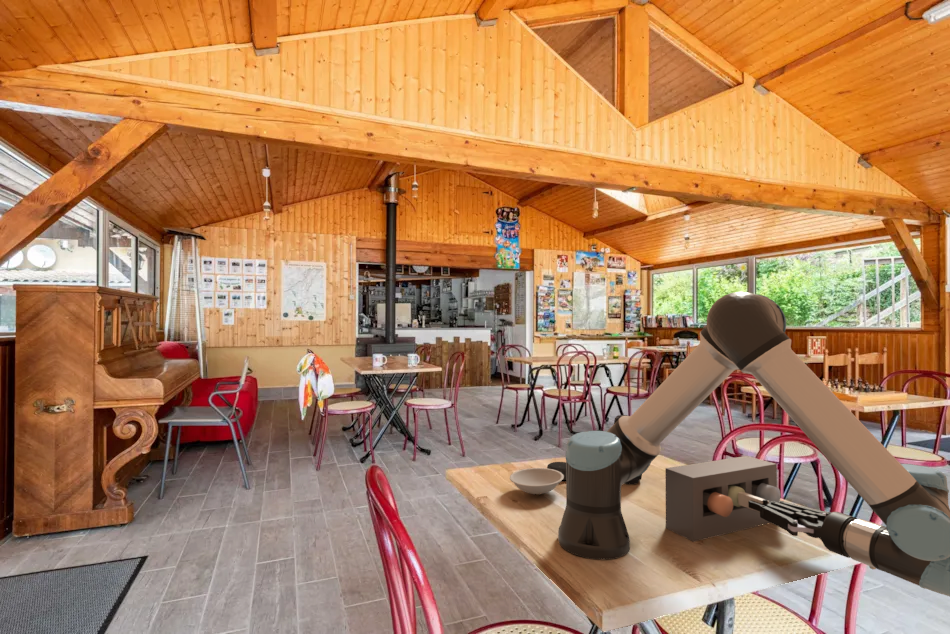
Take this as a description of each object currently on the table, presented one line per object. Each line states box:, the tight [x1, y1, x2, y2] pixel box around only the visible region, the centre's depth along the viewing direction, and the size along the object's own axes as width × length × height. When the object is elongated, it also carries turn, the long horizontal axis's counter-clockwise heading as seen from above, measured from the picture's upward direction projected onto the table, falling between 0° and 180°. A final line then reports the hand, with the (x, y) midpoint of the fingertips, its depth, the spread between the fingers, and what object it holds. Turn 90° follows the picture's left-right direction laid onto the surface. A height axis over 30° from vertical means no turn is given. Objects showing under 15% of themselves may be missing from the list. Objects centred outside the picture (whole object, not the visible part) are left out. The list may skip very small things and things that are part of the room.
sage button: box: [714, 485, 745, 507], centre depth 115 cm, size 4×6×4 cm
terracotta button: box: [703, 492, 733, 517], centre depth 109 cm, size 4×6×4 cm
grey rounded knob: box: [752, 483, 781, 503], centre depth 115 cm, size 4×6×4 cm
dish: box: [509, 467, 564, 495], centre depth 137 cm, size 18×14×5 cm
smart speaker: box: [546, 461, 566, 480], centre depth 152 cm, size 9×9×4 cm
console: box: [665, 455, 778, 542], centre depth 116 cm, size 28×8×14 cm, turn 114°
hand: (740, 498), depth 112 cm, fingers closed
